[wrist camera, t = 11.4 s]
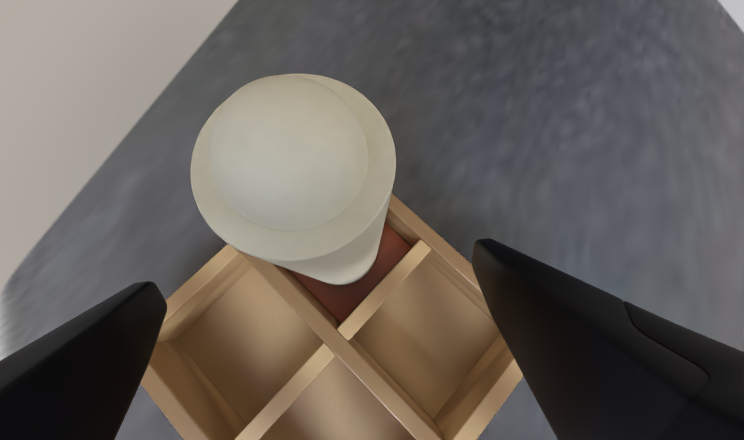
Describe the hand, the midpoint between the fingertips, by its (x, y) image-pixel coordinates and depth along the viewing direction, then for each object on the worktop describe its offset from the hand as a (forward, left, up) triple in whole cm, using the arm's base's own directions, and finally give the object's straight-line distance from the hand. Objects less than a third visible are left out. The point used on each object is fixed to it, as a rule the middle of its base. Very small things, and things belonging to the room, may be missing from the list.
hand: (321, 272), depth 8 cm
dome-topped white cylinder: (+1, +2, -9) cm, 10 cm away
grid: (-2, -2, -10) cm, 10 cm away
